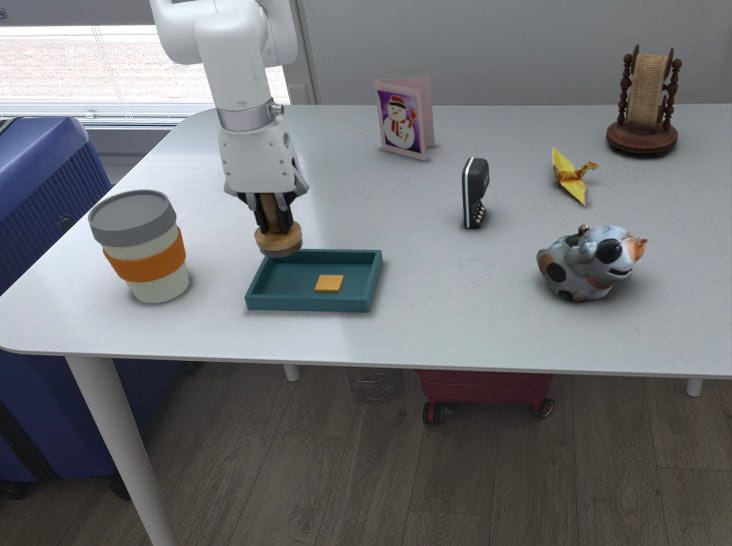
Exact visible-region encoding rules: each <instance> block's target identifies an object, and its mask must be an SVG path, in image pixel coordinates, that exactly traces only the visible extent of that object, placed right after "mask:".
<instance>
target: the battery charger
mask: <svg viewBox="0 0 732 546" xmlns="http://www.w3.org/2000/svg"><path fill="white" fill-rule="evenodd" d="M490 180H491V179H490V166H489V162H488V160H487V159H485V158H482V157H475V156H471V157H468V158H467V160H466V162H465V164H464V166H463V168H462V172H461V193H462V213H463V214H462V215H463V226H464V228H467V229H470V228H471V229H477V228H480V227H482V225H483V222H484V220H485V217H486V215H487V208H486V207H485V206H484V204H483V202H482V199H483V198H484V197H485V195H486V192H487V191H488V190H487V189H488V187H489V184H490V182H491V181H490Z"/></svg>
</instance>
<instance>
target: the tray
mask: <svg viewBox="0 0 732 546" xmlns="http://www.w3.org/2000/svg"><path fill="white" fill-rule="evenodd" d="M383 264H384V259H383V251H382V249H350V248H349V249H348V248H346V249H345V248H344V249H343V248H342V249H341V248H336V249H335V248H333V249H332V248H300V249H299V250H298V251H297V252H296V253H294V254H292V255H289V256H286V257H280V258H272V257H267V256H265V255H264V257H263V259H262V261H261V263H260V265H259V267H258V269H257V270H256V273H255V274H254V277H253V279H252V281H251V283H250V285H249V287H248V288H247V291H246V293H245V294H244V297H243V298H244V302H245V304H246V307H247V310H248V311H276V312H277V311H282V312H283V311H284V312H320V313H321V312H327V313H328V312H329V313H367V314H368V313H370V310H371V306H372V302H373V299H374V295H375V292H376V289H377V285H378V281H379V278H380V274H381V271H382V267H383ZM320 275H344V280H343V283H342V286H341V288H340V291H339V293H329V292H315V287H316V284H317V282H318V279H319V277H320Z"/></svg>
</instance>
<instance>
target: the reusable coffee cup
mask: <svg viewBox="0 0 732 546" xmlns="http://www.w3.org/2000/svg"><path fill="white" fill-rule="evenodd" d="M177 217H178V216H177V212H176V211H175V209H174V206H173V205H172V203H171V201H170V199H169V197H168V196H167V195H166V194H165V193H163V192H162V191H160V190H155V189H133V190H128V191H123V192H120V193H115V194H113V195H111V196H109V197H107V198H104V199H103V200H101V201H100V202H98V203H96V205H94V206H93V207H92V208H91V210H90V211H89V212H88V215H87V221H88V224H89V227H90V230H91V234H92V236H93V239H94V240H95V241H96V242H97V243H98V244H99V245H100V246H101V247H102V253H103V255H104V257H105V259H106V260H107V262H108V263H109V264H110V265H111V267H112V269H113V271H114V272H115V273H116V275H117V276H118V277H119V278H120V279H122V280H123V281H124V282H125V284H126V285H127V286H128V287H129V290H130V291H131V292H132V294H133V295H134V297H135V299H136V300H138V301H139V302H141V303H144V304H160V303H165V302H168V301H171V300H173V299H176V298H177V297H179V296H181V295H182V294H183V293H184V292H185V291H187V289H188V287H189V284H190V277H189V273H188V269H187V263H186V260H187V259H186V258H187V252H186V246H185V243H184V239H183V235H182V230H181V228H180V227H179V226H178V224H177V219H178V218H177Z"/></svg>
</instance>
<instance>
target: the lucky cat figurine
mask: <svg viewBox="0 0 732 546" xmlns="http://www.w3.org/2000/svg"><path fill="white" fill-rule="evenodd" d="M648 240H649V239H648V238H646V237H641V236H638V237H637V238H635V237H634V236H633V235H632V234H631V232H629V231H628V230H626V229H625V228H623V227H622V226H617V225H605V226H596V227H592V228H591V229H590V226H589V225H588V224H586V223H583V224H581V225H580V226H578V229H577V233H574V234H573V233H572V234H566V235H563V236H560V237H559V238H558V239H556V240H555V242H553V243H552V244H551V245H550V246H548V247H547V248H541V249H539V250H538V251H537V253H536V256H535V257H536V264H537V267H538V269H539V271H540V273H541V275H542V277H543V279H544V281H545V282H546V284H547V285H548V286H549V288H551V290H552V291H553V292H554V293H555V294H556V295H558V296H566V298H567V299H568V300H569V301H572V302H574V303H578V302H579V303H580V302H585V301H592V300H593V301H594V300H598V299H599V300H600V299H602V298H605V297H606V296H607V295H608V293H609V292H610V290H611V289H612V288H613V286H614V285H615V283H618V282H620V281H621V282H622V281H623V280H624V279H625V278H627V277H628V276H629V275H631V273H632V271H633V269H634V267H635V266H636V263H637V261H639V260H640V259H641V258H642V257H643V256H644V254H645V250H646V248H647V245H648Z"/></svg>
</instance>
